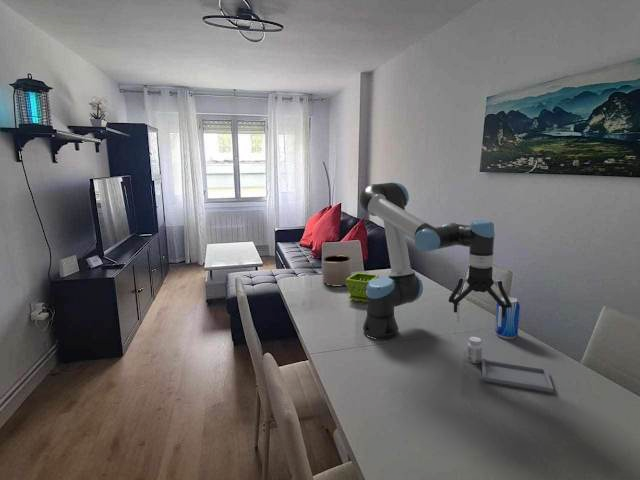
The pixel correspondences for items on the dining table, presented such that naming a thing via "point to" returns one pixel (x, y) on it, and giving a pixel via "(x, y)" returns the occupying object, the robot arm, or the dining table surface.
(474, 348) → the pill bottle
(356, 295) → the flower pot
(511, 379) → the rest tray
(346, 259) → the planter
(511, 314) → the beer can
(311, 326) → the dining table surface
